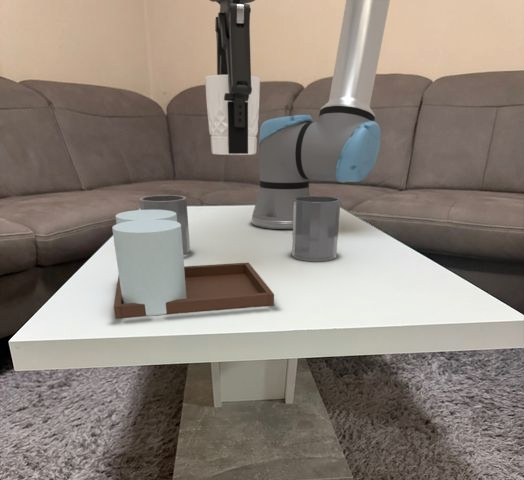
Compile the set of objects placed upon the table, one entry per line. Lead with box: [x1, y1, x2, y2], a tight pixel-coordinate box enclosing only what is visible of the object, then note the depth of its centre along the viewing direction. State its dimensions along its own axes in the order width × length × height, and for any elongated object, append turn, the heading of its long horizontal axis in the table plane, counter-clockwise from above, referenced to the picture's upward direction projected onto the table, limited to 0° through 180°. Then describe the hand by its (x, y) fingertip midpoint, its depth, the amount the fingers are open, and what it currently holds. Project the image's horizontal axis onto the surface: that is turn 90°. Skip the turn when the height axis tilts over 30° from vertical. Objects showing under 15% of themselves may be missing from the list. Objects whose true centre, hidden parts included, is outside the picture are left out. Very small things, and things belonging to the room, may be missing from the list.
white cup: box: [204, 74, 261, 156], centre depth 67 cm, size 8×8×10 cm
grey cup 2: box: [291, 195, 341, 263], centre depth 81 cm, size 8×8×10 cm
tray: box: [113, 262, 275, 320], centre depth 63 cm, size 20×16×2 cm
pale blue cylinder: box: [111, 219, 187, 317], centre depth 56 cm, size 8×8×10 cm
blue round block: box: [115, 209, 177, 224], centre depth 63 cm, size 8×8×10 cm
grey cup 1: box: [139, 194, 191, 256], centre depth 82 cm, size 8×8×10 cm
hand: (233, 152), depth 69 cm, fingers closed on white cup, 8 cm apart
